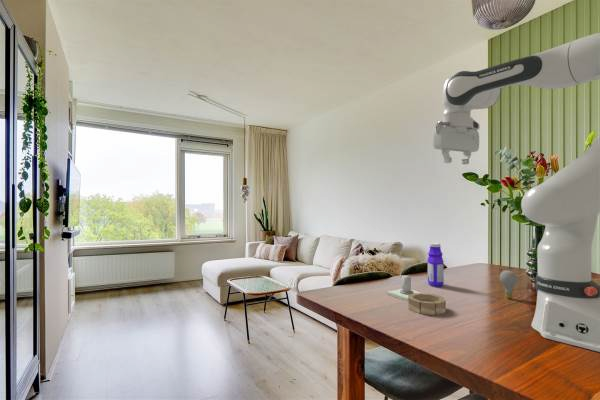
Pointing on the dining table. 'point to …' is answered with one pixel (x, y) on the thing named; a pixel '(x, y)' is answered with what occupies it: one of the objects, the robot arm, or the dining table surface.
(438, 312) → the ring
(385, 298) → the dining table surface
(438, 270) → the bottle
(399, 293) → the square peg stand
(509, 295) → the light bulb
